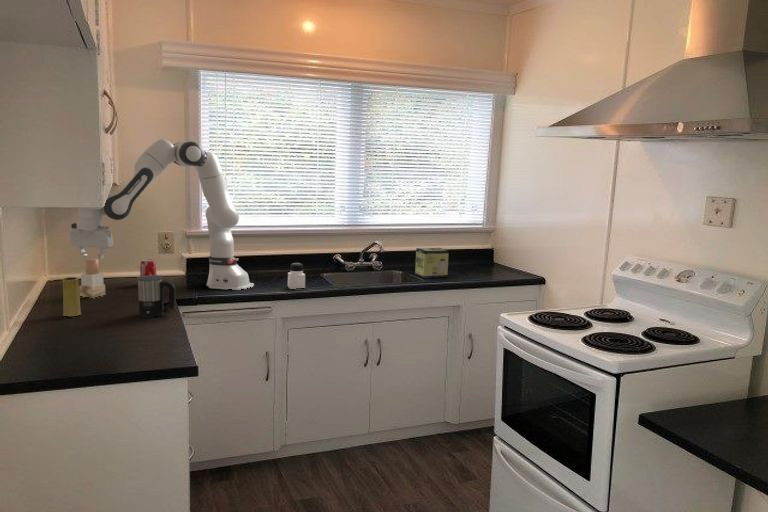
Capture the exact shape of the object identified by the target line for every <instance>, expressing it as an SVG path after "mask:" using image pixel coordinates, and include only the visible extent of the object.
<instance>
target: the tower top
mask: <svg viewBox="0 0 768 512" xmlns="http://www.w3.org/2000/svg"><path fill="white" fill-rule="evenodd" d="M80 281H81V286H89V287H95V286H99V285H104V273H103V272H99V274H93V275H89V274H86V272H84V273H81V274H80Z"/></svg>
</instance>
